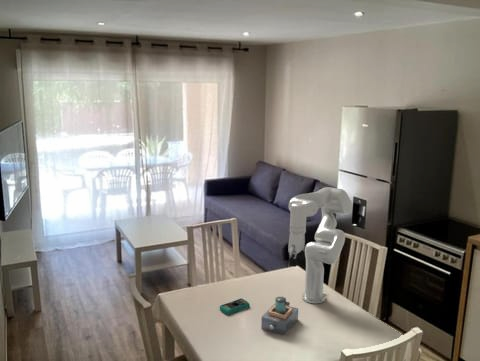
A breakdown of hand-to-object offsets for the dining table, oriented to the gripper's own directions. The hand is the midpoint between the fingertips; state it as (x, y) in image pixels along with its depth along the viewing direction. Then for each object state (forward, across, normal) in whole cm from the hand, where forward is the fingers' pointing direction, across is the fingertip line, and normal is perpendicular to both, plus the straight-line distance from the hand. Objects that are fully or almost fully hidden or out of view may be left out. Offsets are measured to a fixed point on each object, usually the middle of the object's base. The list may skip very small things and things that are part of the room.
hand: (296, 262), depth 210 cm
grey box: (+28, +11, -3) cm, 31 cm away
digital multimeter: (+29, +9, -30) cm, 42 cm away
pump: (+22, +11, -3) cm, 25 cm away
